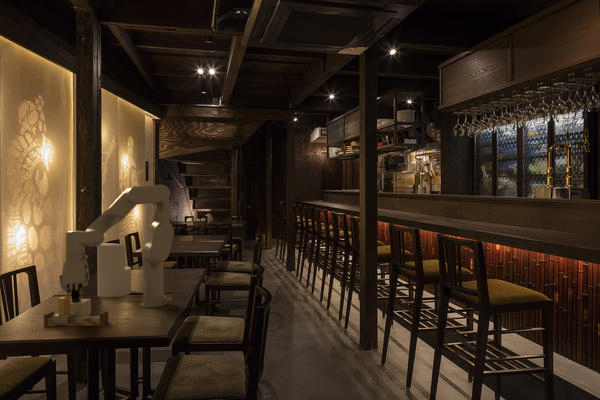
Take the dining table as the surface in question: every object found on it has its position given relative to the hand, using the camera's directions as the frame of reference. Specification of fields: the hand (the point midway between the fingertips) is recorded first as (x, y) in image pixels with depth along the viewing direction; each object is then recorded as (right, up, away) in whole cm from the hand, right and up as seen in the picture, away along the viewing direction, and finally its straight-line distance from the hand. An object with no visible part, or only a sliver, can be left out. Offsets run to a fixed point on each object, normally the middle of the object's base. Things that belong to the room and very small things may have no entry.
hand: (75, 298), depth 185 cm
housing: (0, -8, 0) cm, 8 cm away
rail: (+6, -8, -11) cm, 15 cm away
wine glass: (-14, -8, +20) cm, 26 cm away
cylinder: (-3, -8, +45) cm, 46 cm away
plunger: (0, -7, 0) cm, 7 cm away
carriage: (+1, -8, -11) cm, 14 cm away
